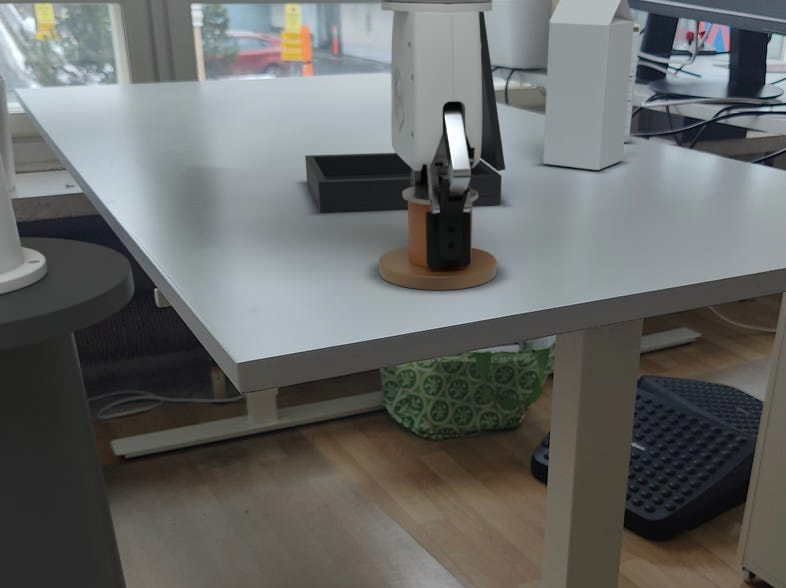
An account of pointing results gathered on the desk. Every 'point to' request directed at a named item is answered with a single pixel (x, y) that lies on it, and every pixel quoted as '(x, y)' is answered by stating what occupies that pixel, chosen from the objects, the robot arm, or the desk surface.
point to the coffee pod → (422, 221)
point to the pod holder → (379, 182)
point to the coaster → (436, 271)
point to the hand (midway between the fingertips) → (440, 253)
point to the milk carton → (587, 83)
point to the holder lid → (489, 108)
